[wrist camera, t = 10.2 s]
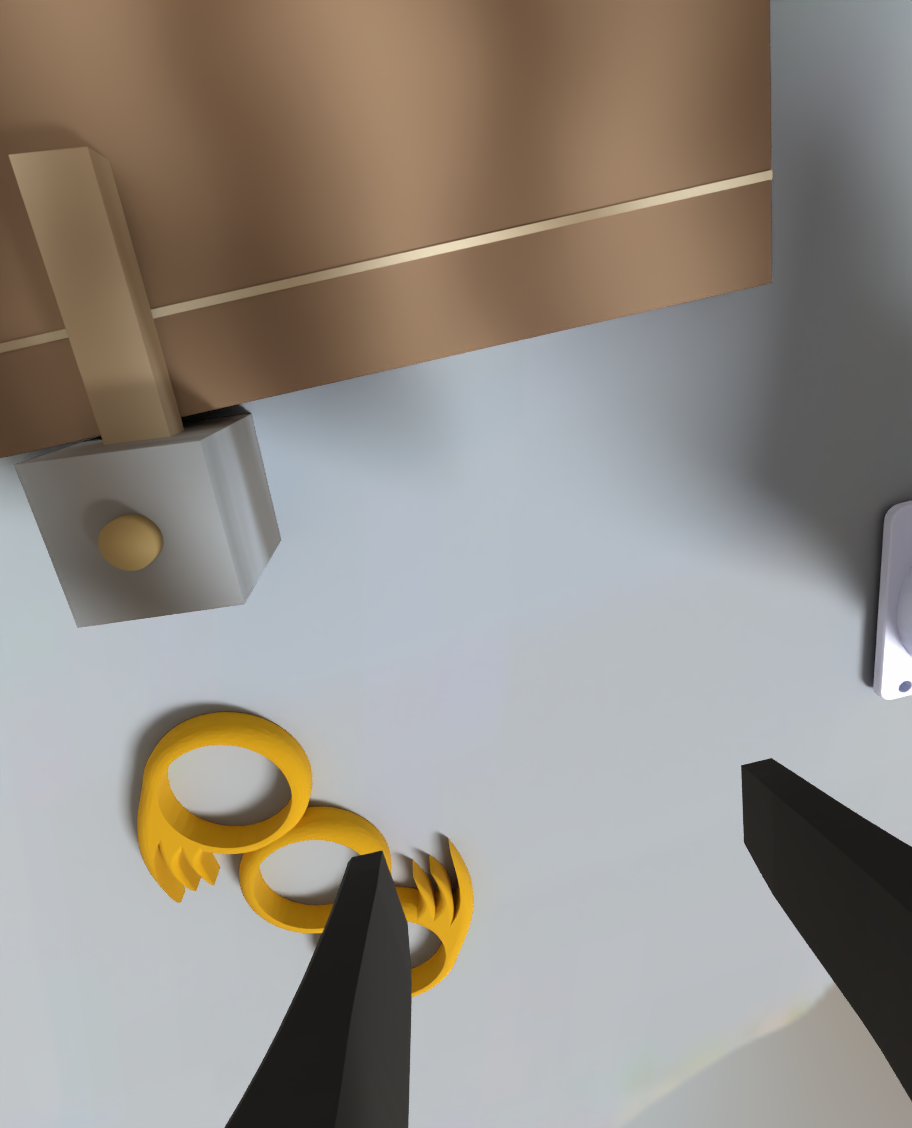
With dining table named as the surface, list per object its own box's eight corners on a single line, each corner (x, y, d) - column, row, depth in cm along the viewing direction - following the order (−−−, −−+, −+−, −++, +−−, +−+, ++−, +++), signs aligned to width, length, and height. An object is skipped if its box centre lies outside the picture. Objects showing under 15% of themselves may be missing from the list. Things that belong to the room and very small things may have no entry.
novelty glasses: (336, 1011, 28) (519, 915, 27) (333, 1047, 26) (526, 948, 25) (77, 780, 22) (295, 647, 21) (54, 811, 21) (288, 669, 20)
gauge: (197, 180, 16) (98, 102, 10) (281, 539, 19) (239, 613, 14) (41, 197, 15) (-137, 127, 10) (156, 556, 19) (67, 637, 14)
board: (718, -170, 14) (769, -251, 12) (732, 288, 18) (773, 282, 16) (-290, 50, 14) (-402, 3, 12) (-62, 468, 17) (-118, 485, 15)
